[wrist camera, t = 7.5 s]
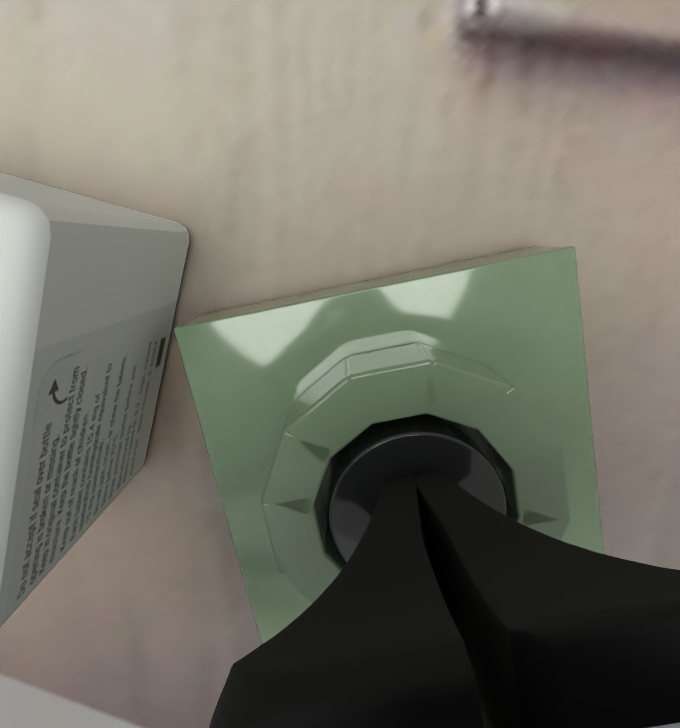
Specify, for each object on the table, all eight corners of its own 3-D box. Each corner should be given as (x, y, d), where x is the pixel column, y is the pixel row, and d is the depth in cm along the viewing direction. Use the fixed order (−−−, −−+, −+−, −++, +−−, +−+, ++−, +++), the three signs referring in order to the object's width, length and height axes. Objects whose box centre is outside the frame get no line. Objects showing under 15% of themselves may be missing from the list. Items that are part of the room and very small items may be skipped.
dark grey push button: (491, 529, 14) (517, 577, 12) (346, 555, 14) (347, 607, 12) (470, 389, 13) (495, 416, 11) (315, 419, 13) (311, 451, 11)
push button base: (570, 549, 17) (651, 656, 12) (276, 601, 17) (254, 723, 13) (536, 245, 15) (621, 246, 10) (199, 315, 15) (141, 343, 11)
